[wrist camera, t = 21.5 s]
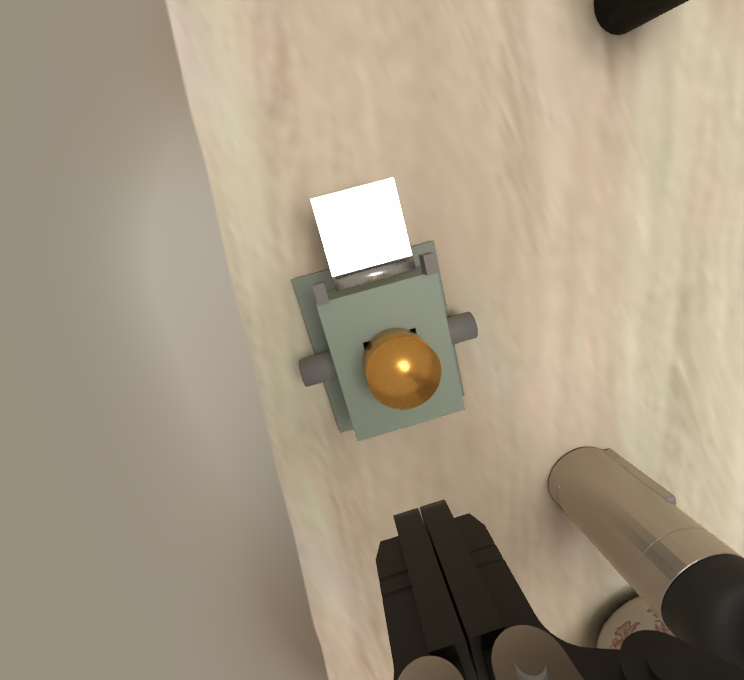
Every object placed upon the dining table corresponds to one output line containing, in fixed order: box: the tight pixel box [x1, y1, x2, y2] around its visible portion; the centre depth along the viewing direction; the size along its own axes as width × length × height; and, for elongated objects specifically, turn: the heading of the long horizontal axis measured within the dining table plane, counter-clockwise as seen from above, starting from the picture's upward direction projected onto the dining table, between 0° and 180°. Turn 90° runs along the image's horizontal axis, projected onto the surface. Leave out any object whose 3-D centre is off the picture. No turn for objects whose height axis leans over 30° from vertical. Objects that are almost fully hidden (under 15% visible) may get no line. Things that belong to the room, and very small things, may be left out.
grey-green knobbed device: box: [292, 241, 478, 441], centre depth 38 cm, size 18×18×8 cm
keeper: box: [310, 177, 415, 292], centre depth 31 cm, size 7×1×8 cm
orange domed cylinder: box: [363, 327, 442, 410], centre depth 36 cm, size 6×6×10 cm
